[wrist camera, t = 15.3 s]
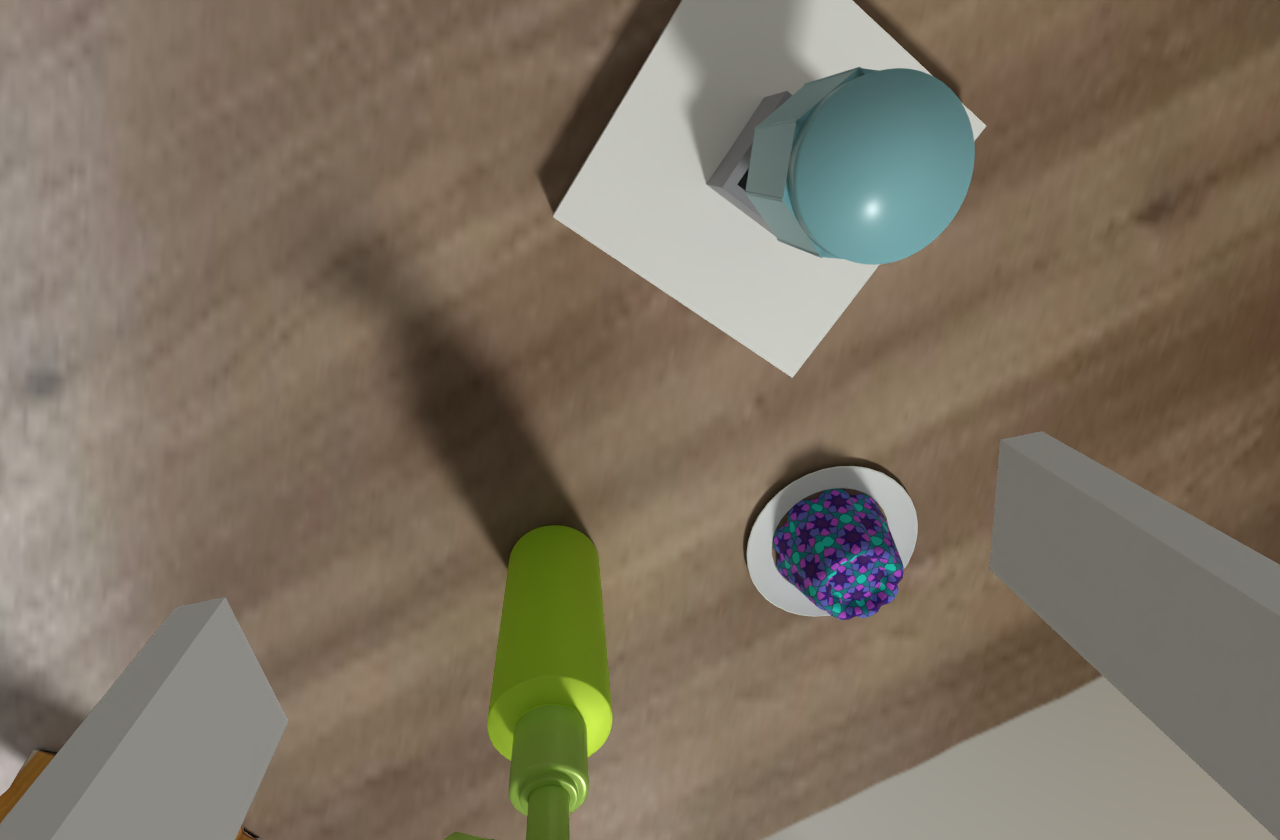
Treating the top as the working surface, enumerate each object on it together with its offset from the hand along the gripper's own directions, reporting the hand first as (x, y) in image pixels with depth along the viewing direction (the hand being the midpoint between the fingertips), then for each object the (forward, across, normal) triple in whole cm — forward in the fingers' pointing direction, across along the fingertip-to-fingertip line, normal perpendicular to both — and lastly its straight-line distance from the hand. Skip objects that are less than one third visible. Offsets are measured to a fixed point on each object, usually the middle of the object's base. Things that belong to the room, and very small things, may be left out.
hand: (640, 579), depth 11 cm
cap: (+18, +11, +5) cm, 22 cm away
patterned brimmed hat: (+27, +14, -20) cm, 36 cm away
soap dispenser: (+27, -5, -18) cm, 33 cm away
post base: (+27, +11, +4) cm, 29 cm away
